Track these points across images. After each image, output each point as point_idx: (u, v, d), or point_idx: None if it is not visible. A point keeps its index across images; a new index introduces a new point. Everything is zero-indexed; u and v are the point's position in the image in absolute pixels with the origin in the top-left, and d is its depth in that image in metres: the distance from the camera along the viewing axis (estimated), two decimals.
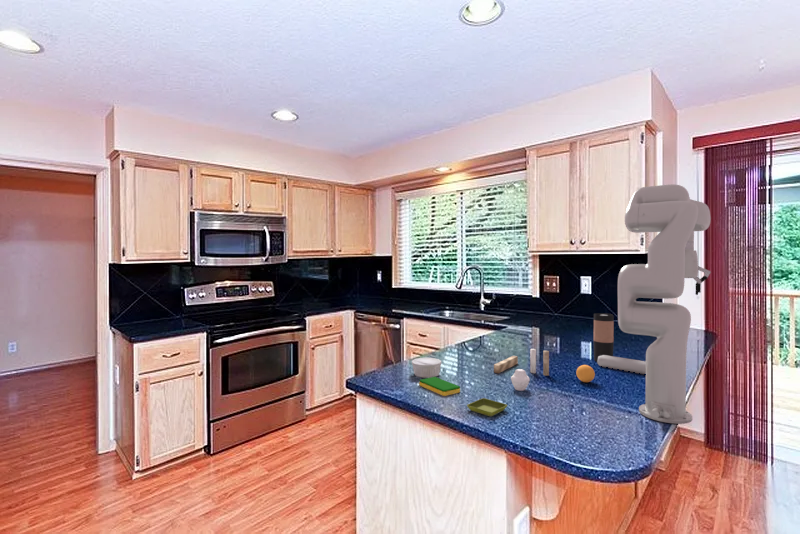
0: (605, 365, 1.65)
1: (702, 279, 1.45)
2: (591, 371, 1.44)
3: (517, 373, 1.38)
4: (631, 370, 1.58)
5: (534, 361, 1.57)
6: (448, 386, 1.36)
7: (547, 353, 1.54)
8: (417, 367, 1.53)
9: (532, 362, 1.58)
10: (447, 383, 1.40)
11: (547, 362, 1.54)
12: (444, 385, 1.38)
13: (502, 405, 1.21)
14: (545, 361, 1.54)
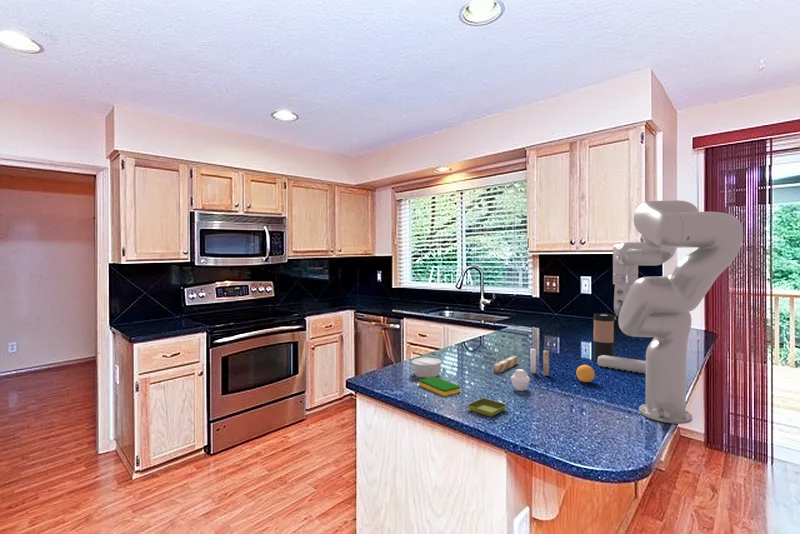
0: (605, 365, 1.65)
1: None
2: (591, 371, 1.44)
3: (517, 373, 1.38)
4: (632, 370, 1.58)
5: (534, 361, 1.57)
6: (448, 386, 1.36)
7: (547, 353, 1.54)
8: (417, 367, 1.53)
9: (532, 362, 1.58)
10: (447, 383, 1.40)
11: (547, 362, 1.54)
12: (444, 384, 1.38)
13: (502, 405, 1.21)
14: (545, 361, 1.54)
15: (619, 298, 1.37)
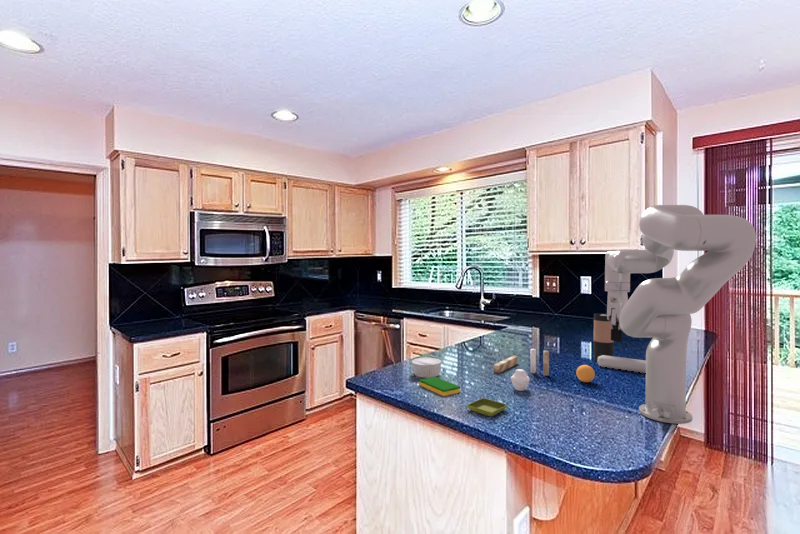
0: (606, 365, 1.65)
1: None
2: (591, 371, 1.44)
3: (517, 373, 1.38)
4: (633, 370, 1.59)
5: (534, 361, 1.57)
6: (448, 386, 1.36)
7: (547, 353, 1.54)
8: (417, 367, 1.53)
9: (532, 362, 1.58)
10: (447, 383, 1.40)
11: (547, 362, 1.54)
12: (444, 385, 1.38)
13: (502, 405, 1.21)
14: (545, 361, 1.54)
15: (613, 306, 1.36)
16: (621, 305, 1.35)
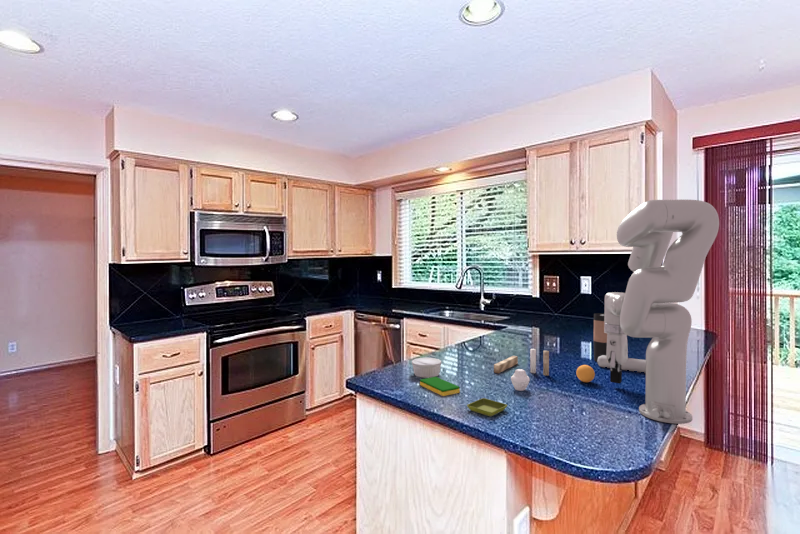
0: (606, 365, 1.64)
1: (620, 365, 1.41)
2: (591, 371, 1.44)
3: (517, 373, 1.38)
4: (634, 369, 1.59)
5: (534, 361, 1.57)
6: (447, 386, 1.36)
7: (547, 353, 1.54)
8: (417, 367, 1.53)
9: (532, 362, 1.58)
10: (447, 383, 1.39)
11: (547, 362, 1.54)
12: (444, 385, 1.38)
13: (502, 405, 1.21)
14: (545, 361, 1.54)
15: (612, 348, 1.36)
16: (620, 348, 1.35)
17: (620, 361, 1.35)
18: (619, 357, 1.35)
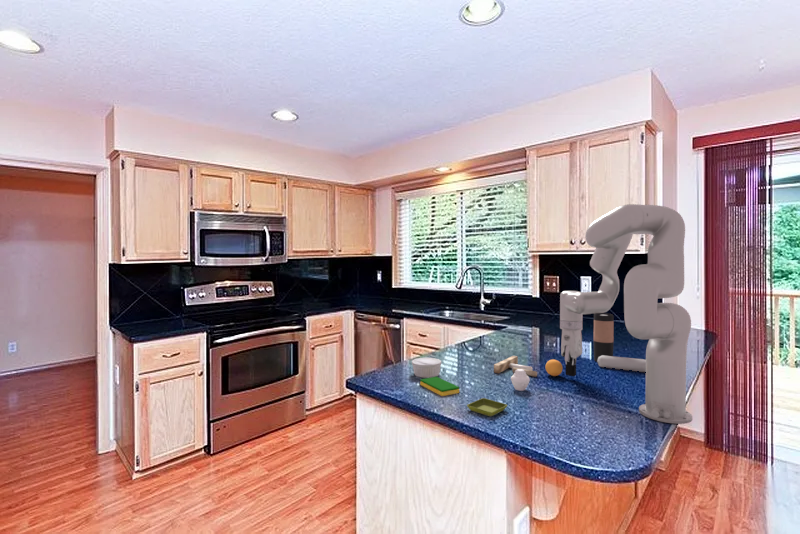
0: (607, 366, 1.64)
1: None
2: (547, 371, 1.55)
3: (517, 373, 1.38)
4: (634, 369, 1.59)
5: None
6: (447, 386, 1.36)
7: None
8: (417, 367, 1.53)
9: (520, 366, 1.62)
10: (447, 383, 1.39)
11: None
12: (443, 385, 1.38)
13: (502, 405, 1.21)
14: None
15: (566, 343, 1.46)
16: (573, 343, 1.44)
17: (573, 355, 1.44)
18: (572, 351, 1.44)
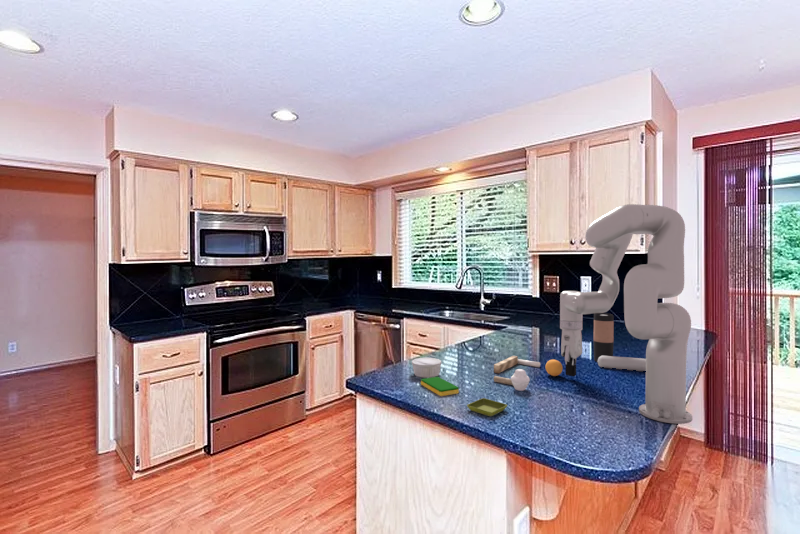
0: (608, 366, 1.64)
1: None
2: (547, 371, 1.55)
3: (517, 373, 1.38)
4: (635, 369, 1.60)
5: None
6: (446, 386, 1.36)
7: (495, 380, 1.47)
8: (417, 367, 1.53)
9: None
10: (447, 383, 1.39)
11: (504, 381, 1.45)
12: (443, 385, 1.38)
13: (502, 405, 1.21)
14: None
15: (566, 343, 1.46)
16: (573, 343, 1.44)
17: (573, 355, 1.44)
18: (572, 351, 1.44)
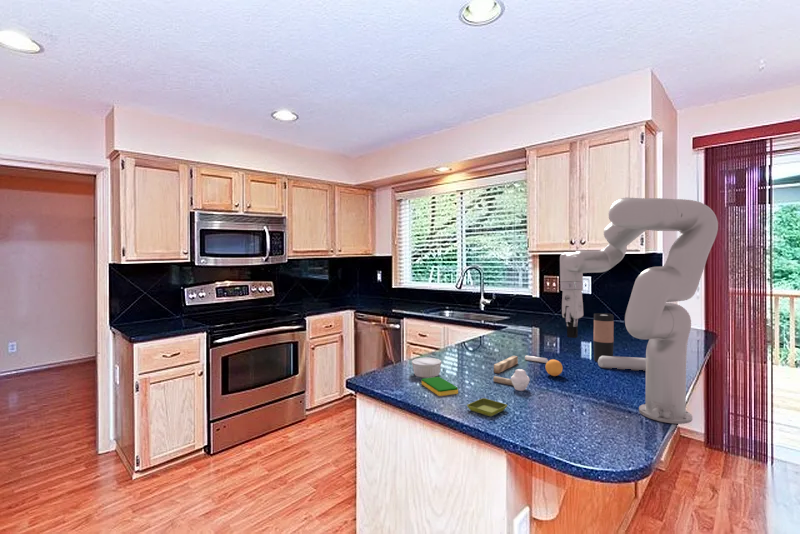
0: (608, 366, 1.64)
1: None
2: (547, 371, 1.55)
3: (517, 373, 1.38)
4: (635, 368, 1.61)
5: (534, 358, 1.75)
6: (446, 386, 1.36)
7: (495, 380, 1.47)
8: (417, 367, 1.53)
9: (536, 360, 1.74)
10: (447, 383, 1.39)
11: (503, 382, 1.45)
12: (443, 385, 1.38)
13: (502, 405, 1.21)
14: (503, 383, 1.45)
15: (566, 304, 1.45)
16: (574, 303, 1.44)
17: (574, 315, 1.44)
18: (573, 311, 1.44)
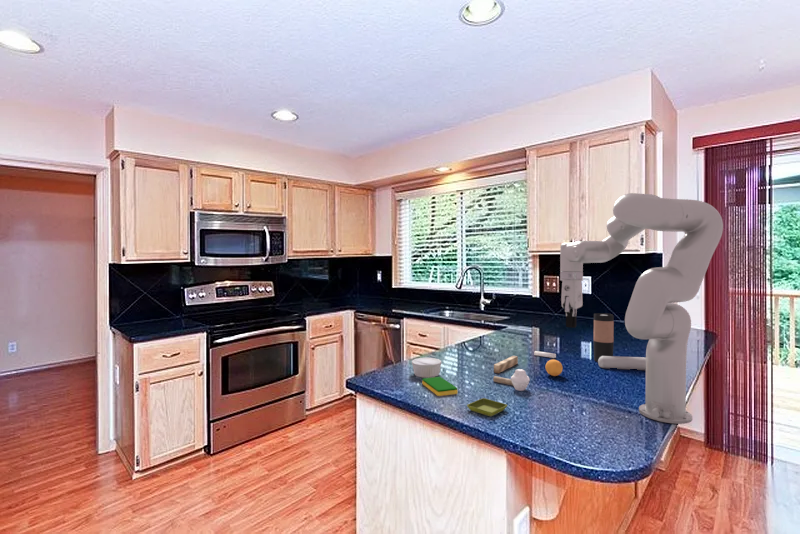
0: (609, 366, 1.63)
1: None
2: (547, 371, 1.55)
3: (517, 373, 1.38)
4: (636, 368, 1.61)
5: (544, 356, 1.83)
6: (445, 387, 1.36)
7: (495, 380, 1.47)
8: (417, 367, 1.53)
9: None
10: (447, 384, 1.39)
11: (503, 382, 1.45)
12: (442, 385, 1.38)
13: (502, 405, 1.21)
14: (503, 383, 1.45)
15: (566, 294, 1.45)
16: (573, 293, 1.44)
17: (573, 305, 1.44)
18: (572, 301, 1.44)
